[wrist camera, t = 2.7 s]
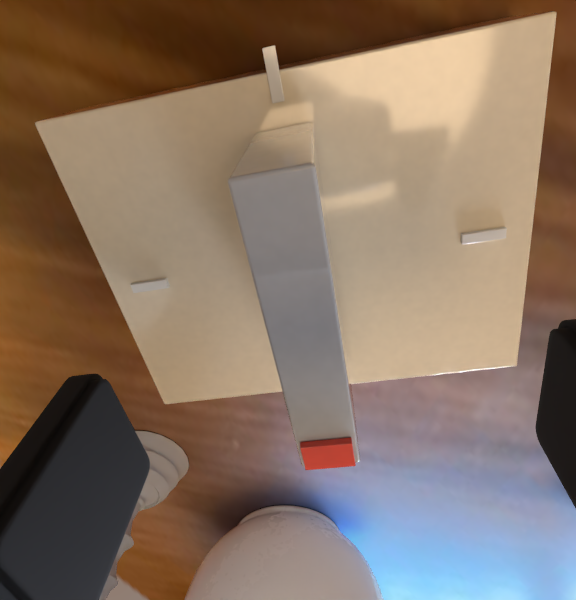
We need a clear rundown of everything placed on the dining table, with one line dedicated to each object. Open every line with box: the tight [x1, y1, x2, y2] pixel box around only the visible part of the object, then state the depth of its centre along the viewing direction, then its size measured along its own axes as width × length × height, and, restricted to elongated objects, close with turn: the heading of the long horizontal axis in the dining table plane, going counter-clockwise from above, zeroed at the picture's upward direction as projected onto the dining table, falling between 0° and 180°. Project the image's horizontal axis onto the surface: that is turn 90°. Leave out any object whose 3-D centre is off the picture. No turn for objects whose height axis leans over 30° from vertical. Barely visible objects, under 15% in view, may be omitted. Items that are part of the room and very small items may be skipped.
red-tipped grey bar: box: [228, 123, 360, 470], centre depth 13 cm, size 9×2×5 cm, turn 11°
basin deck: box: [35, 11, 556, 404], centre depth 16 cm, size 15×13×3 cm
